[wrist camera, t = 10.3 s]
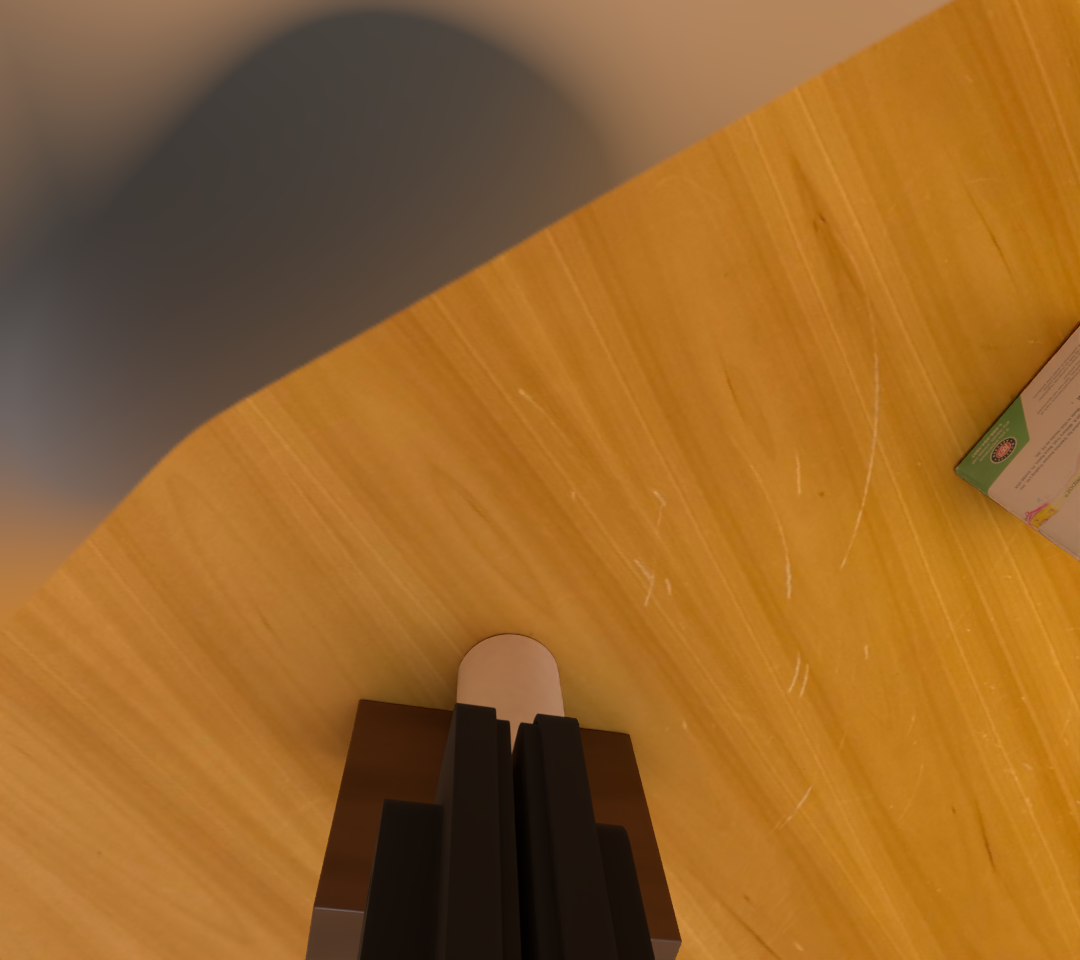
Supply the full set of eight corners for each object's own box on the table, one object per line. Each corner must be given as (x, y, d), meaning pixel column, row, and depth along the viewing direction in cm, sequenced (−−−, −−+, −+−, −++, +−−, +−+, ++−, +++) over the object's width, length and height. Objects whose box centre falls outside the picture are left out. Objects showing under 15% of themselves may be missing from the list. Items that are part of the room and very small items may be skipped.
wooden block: (359, 699, 40) (313, 907, 29) (629, 734, 42) (682, 941, 31) (349, 762, 42) (301, 983, 31) (611, 793, 44) (655, 1012, 32)
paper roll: (463, 625, 42) (484, 638, 31) (558, 639, 42) (611, 656, 31) (433, 812, 40) (443, 896, 29) (531, 824, 41) (577, 910, 30)
